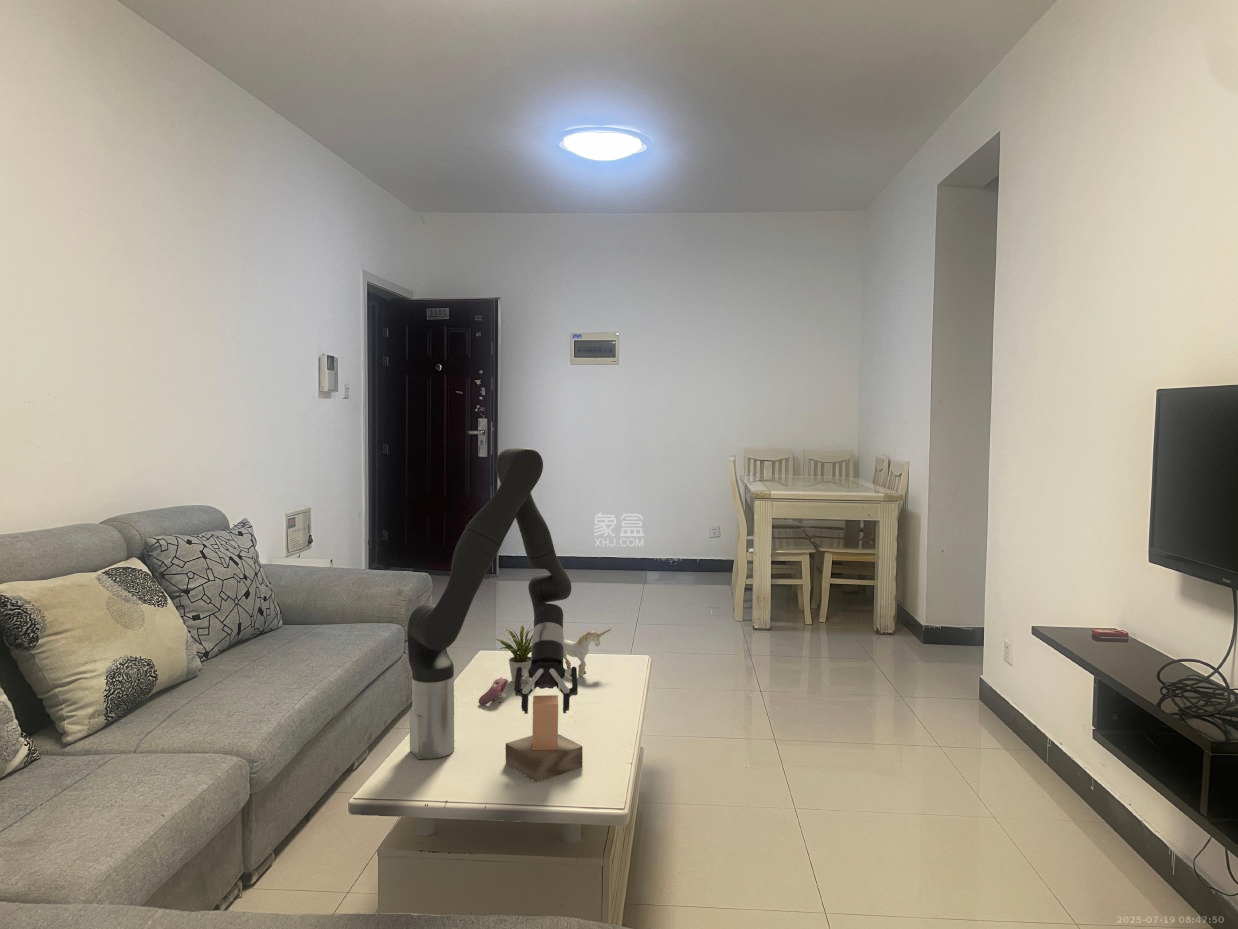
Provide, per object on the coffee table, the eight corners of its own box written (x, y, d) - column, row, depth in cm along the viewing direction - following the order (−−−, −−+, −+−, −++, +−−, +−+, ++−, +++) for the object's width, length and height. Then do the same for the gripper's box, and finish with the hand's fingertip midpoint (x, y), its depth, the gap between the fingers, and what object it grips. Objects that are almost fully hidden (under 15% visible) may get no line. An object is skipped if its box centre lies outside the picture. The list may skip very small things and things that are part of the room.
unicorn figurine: (604, 679, 232) (605, 634, 231) (542, 674, 237) (542, 629, 236) (611, 672, 239) (611, 628, 238) (550, 667, 244) (550, 624, 243)
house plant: (532, 668, 242) (532, 615, 241) (557, 680, 231) (557, 624, 230) (490, 677, 233) (490, 622, 233) (514, 690, 222) (514, 632, 222)
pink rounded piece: (491, 712, 209) (502, 689, 209) (476, 703, 210) (487, 681, 209) (502, 699, 219) (513, 678, 218) (488, 691, 220) (499, 669, 219)
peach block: (532, 750, 170) (532, 704, 169) (532, 740, 175) (533, 695, 175) (557, 749, 170) (558, 703, 170) (557, 739, 176) (557, 695, 175)
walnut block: (536, 784, 165) (536, 761, 164) (505, 765, 174) (505, 743, 174) (582, 768, 172) (582, 746, 172) (550, 751, 182) (550, 730, 181)
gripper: (516, 638, 183) (511, 705, 172) (577, 638, 184) (577, 704, 173) (518, 654, 189) (514, 720, 178) (578, 654, 190) (577, 719, 179)
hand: (545, 712), depth 176 cm, fingers open, 8 cm apart
